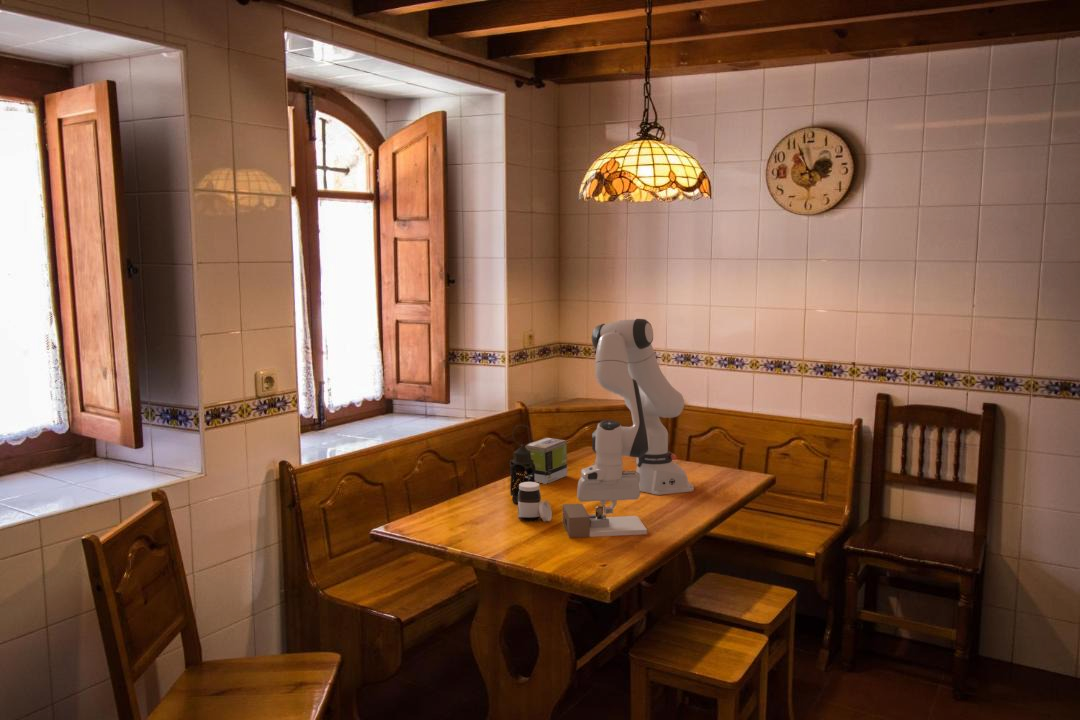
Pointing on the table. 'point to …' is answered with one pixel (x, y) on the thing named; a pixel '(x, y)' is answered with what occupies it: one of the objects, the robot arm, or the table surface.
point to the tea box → (548, 459)
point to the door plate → (598, 523)
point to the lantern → (521, 469)
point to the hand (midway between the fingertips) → (608, 513)
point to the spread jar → (532, 503)
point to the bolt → (599, 513)
